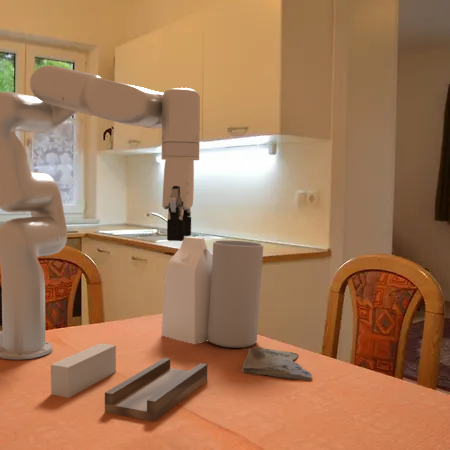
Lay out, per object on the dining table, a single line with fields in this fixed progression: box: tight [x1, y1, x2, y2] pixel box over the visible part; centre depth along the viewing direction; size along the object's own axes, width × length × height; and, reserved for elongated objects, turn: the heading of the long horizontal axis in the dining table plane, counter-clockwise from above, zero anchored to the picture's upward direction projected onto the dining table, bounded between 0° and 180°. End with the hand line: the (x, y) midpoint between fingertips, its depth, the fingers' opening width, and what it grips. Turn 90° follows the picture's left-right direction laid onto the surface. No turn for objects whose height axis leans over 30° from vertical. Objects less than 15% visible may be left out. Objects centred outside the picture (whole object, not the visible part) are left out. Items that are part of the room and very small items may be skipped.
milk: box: [161, 236, 213, 345], centre depth 153 cm, size 12×12×26 cm
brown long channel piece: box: [104, 357, 208, 422], centre depth 111 cm, size 10×22×4 cm, turn 158°
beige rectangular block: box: [50, 342, 117, 398], centre depth 118 cm, size 4×16×6 cm, turn 158°
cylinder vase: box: [207, 239, 264, 349], centre depth 147 cm, size 12×12×25 cm
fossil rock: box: [241, 346, 313, 381], centre depth 130 cm, size 18×15×2 cm
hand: (179, 238), depth 118 cm, fingers open, 9 cm apart
